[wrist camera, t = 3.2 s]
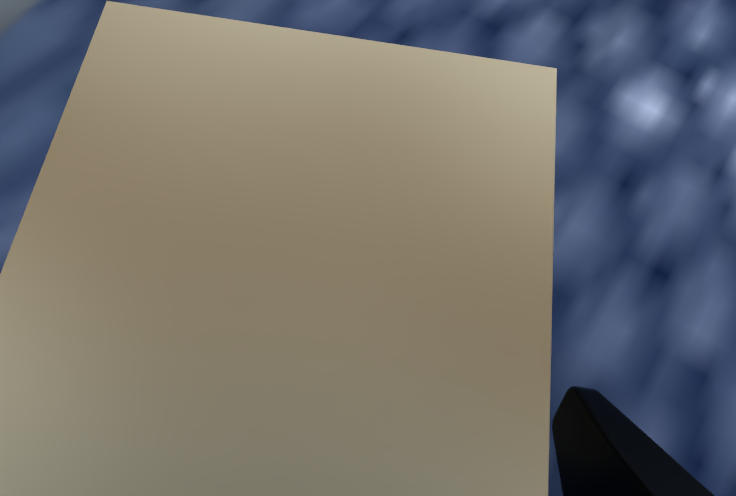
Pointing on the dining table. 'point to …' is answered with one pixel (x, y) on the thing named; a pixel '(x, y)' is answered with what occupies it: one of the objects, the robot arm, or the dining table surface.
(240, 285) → the beech pillar
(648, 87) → the dining table surface
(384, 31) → the dining table surface
